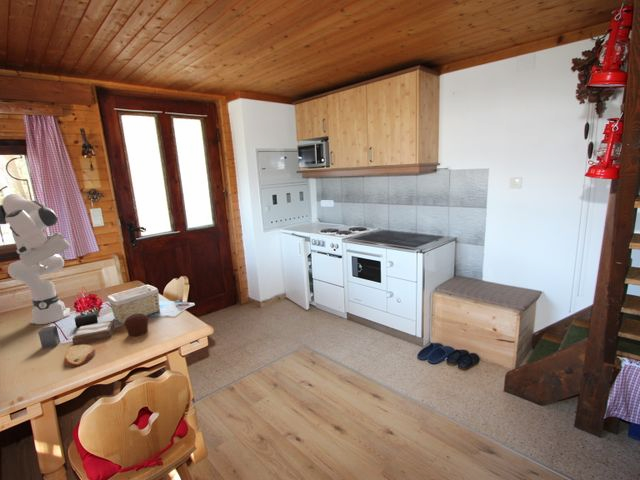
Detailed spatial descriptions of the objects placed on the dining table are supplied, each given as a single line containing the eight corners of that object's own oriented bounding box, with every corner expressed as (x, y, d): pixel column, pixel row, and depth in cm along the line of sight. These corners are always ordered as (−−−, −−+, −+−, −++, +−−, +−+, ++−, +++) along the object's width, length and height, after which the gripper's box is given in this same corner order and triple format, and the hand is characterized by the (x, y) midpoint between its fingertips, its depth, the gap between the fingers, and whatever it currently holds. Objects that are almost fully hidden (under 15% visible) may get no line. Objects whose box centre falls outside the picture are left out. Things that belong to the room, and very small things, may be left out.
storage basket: (119, 326, 187) (114, 301, 184) (110, 318, 198) (105, 295, 195) (163, 311, 204) (159, 288, 201) (152, 305, 215) (148, 283, 212)
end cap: (76, 330, 185) (74, 319, 183) (77, 326, 190) (74, 315, 189) (98, 325, 190) (96, 314, 189) (98, 321, 196) (95, 310, 194)
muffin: (122, 339, 171) (118, 321, 169) (130, 329, 182) (127, 312, 180) (146, 336, 173) (143, 318, 171) (153, 326, 183) (150, 309, 181)
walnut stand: (80, 334, 180) (79, 326, 179) (114, 327, 186) (113, 319, 185) (73, 345, 167) (71, 337, 166) (110, 337, 173) (108, 329, 172)
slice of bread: (76, 347, 166) (74, 340, 165) (109, 347, 164) (108, 340, 163) (43, 368, 149) (41, 360, 148) (79, 368, 147) (78, 361, 146)
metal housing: (46, 344, 171) (41, 328, 169) (60, 341, 173) (56, 325, 171) (42, 349, 166) (38, 332, 164) (57, 346, 168) (53, 329, 166)
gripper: (60, 229, 170) (78, 252, 175) (16, 249, 163) (36, 272, 169) (58, 232, 164) (76, 255, 170) (12, 253, 158) (32, 276, 163)
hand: (56, 264), depth 169 cm, fingers open, 8 cm apart
